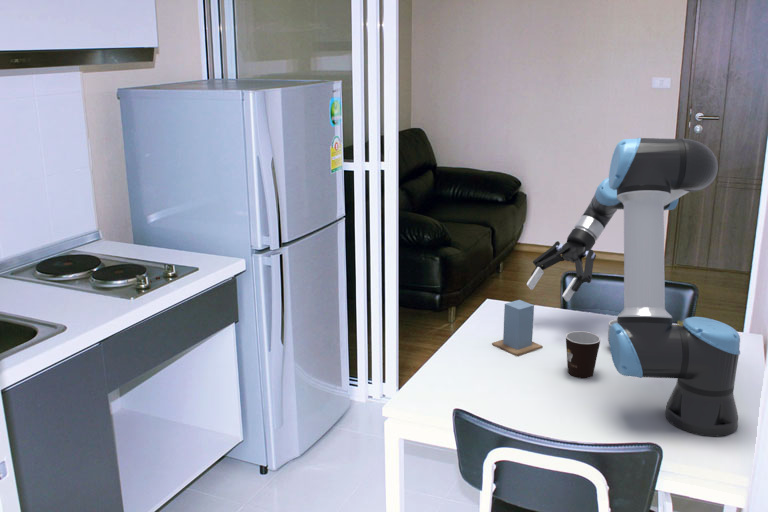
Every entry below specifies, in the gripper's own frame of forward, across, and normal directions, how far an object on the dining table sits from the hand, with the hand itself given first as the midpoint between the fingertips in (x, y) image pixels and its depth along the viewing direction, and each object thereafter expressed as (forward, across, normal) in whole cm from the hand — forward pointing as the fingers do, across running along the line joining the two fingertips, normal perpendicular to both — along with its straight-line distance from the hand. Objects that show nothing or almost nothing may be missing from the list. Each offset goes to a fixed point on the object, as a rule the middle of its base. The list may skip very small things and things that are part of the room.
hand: (546, 292), depth 207 cm
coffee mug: (+17, -21, -4) cm, 27 cm away
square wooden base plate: (+18, 0, -2) cm, 18 cm away
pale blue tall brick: (+17, 0, -2) cm, 17 cm away
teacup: (+2, -22, -18) cm, 28 cm away
